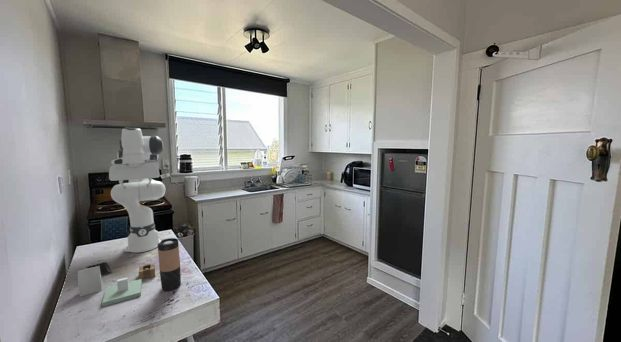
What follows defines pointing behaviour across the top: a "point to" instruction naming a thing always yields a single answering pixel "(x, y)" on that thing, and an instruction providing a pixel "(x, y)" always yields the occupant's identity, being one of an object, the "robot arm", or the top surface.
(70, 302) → the top surface
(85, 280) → the white boxy piece
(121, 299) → the base
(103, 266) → the phone
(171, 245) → the travel mug
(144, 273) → the open wooden frame
